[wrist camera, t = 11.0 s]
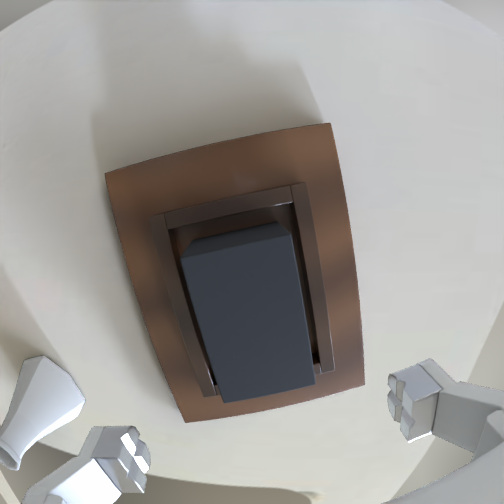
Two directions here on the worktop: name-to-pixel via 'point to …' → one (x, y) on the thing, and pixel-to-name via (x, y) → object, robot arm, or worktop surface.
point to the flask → (37, 408)
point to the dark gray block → (250, 311)
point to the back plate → (234, 218)
